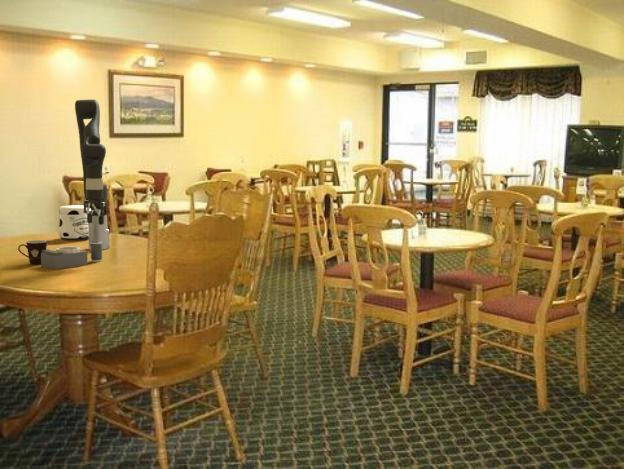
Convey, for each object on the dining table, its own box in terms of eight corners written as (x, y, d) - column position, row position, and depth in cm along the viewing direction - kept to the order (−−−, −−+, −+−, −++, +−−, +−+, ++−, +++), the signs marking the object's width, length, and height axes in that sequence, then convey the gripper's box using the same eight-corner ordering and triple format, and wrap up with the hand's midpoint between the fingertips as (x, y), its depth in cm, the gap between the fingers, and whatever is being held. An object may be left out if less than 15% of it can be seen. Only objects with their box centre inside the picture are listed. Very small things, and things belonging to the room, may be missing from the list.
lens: (98, 259, 331) (97, 240, 330) (104, 261, 328) (104, 241, 327) (88, 261, 327) (87, 241, 326) (95, 262, 324) (94, 243, 323)
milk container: (85, 242, 381) (84, 208, 379) (53, 241, 381) (52, 208, 379) (95, 237, 398) (95, 205, 396) (65, 236, 399) (64, 204, 396)
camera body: (73, 261, 325) (72, 245, 324) (87, 264, 319) (87, 248, 317) (41, 266, 313) (40, 249, 312) (55, 269, 306) (54, 252, 305)
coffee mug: (51, 262, 322) (51, 240, 320) (38, 266, 313) (37, 243, 312) (30, 260, 325) (30, 239, 324) (17, 264, 317) (16, 241, 316)
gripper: (111, 188, 321) (111, 224, 324) (92, 187, 330) (93, 221, 332) (96, 189, 315) (97, 225, 318) (78, 187, 324) (79, 223, 326)
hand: (95, 223), depth 325 cm, fingers open, 8 cm apart
